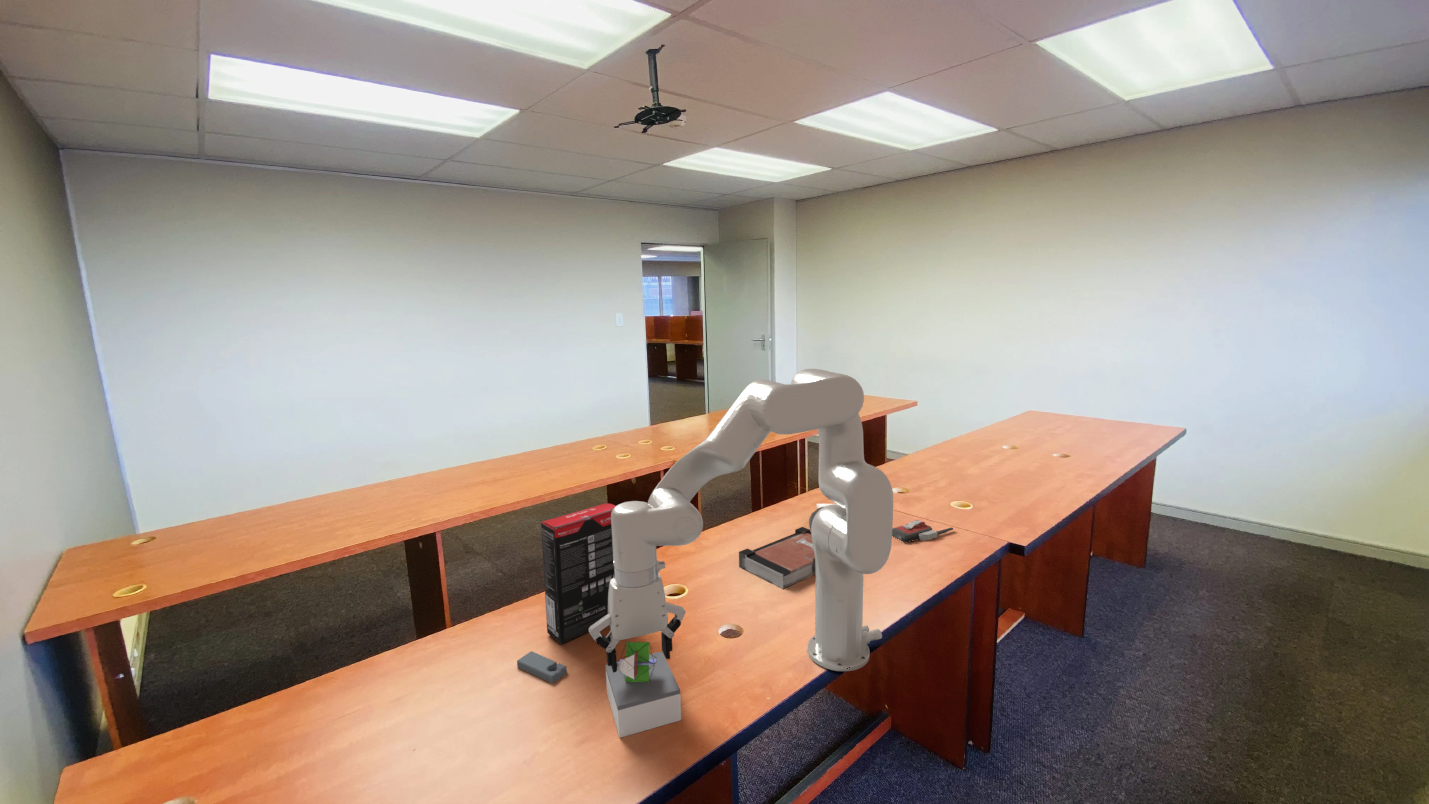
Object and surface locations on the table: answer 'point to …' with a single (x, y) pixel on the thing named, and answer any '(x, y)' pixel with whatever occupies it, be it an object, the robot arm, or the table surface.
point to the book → (782, 559)
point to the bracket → (541, 667)
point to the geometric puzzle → (636, 662)
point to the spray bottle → (816, 512)
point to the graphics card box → (577, 570)
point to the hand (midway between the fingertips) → (640, 661)
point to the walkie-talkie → (916, 531)
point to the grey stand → (644, 698)
